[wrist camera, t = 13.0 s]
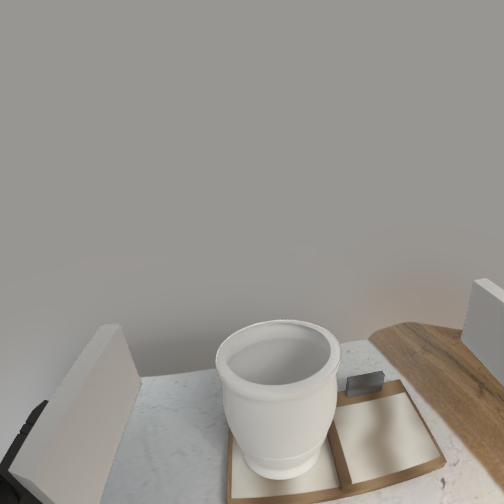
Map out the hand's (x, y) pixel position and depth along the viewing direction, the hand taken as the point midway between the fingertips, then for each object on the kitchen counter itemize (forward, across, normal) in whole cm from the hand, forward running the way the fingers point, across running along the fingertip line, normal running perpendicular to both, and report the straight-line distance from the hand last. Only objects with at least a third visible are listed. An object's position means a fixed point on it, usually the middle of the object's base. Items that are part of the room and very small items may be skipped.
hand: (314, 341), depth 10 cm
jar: (+12, -1, -24) cm, 27 cm away
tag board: (+13, +5, -26) cm, 29 cm away
